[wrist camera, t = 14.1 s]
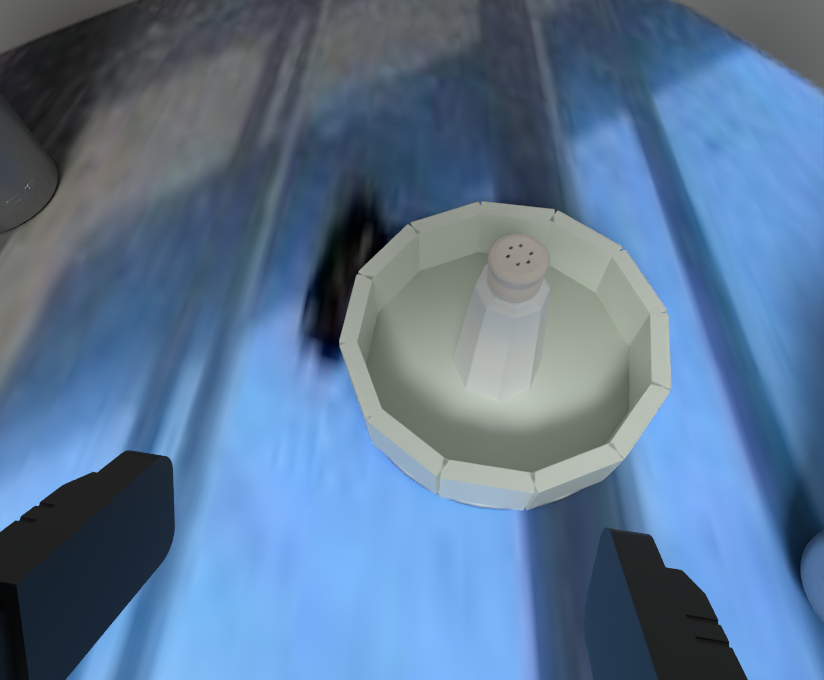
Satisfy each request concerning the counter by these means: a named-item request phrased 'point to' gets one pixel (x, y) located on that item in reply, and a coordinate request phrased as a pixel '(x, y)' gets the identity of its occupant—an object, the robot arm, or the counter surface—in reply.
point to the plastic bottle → (814, 573)
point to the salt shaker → (505, 320)
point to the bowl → (555, 378)
